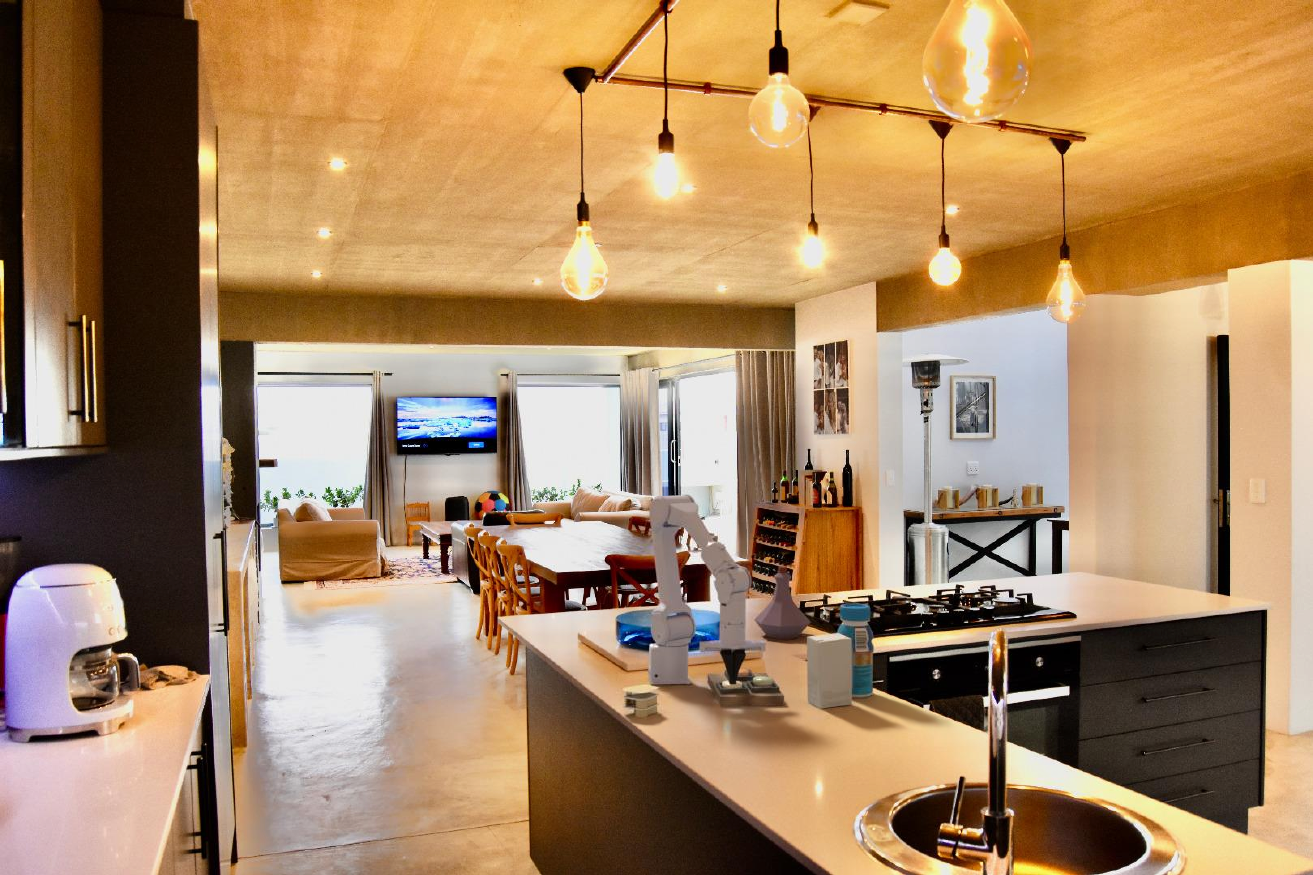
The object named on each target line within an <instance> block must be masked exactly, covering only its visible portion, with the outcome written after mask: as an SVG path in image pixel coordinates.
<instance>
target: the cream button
mask: <svg viewBox="0 0 1313 875" xmlns="http://www.w3.org/2000/svg"><path fill="white" fill-rule="evenodd" d="M732 688H742V682H739V681H736V684H729V681H724V682H722V689H732Z"/></svg>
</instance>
